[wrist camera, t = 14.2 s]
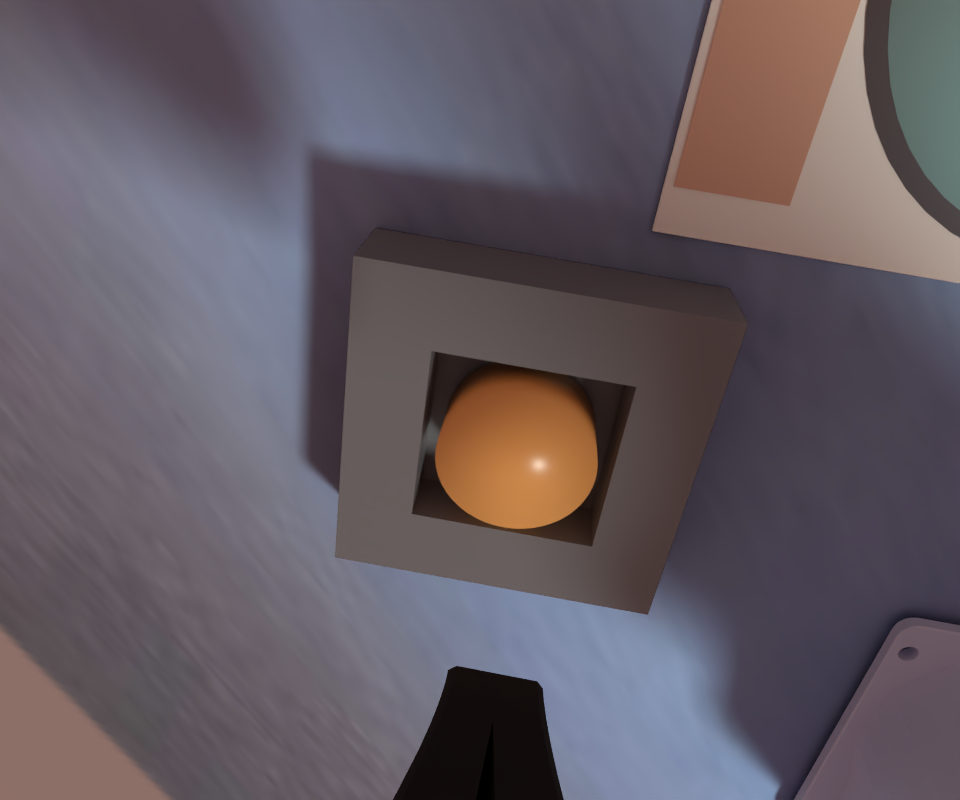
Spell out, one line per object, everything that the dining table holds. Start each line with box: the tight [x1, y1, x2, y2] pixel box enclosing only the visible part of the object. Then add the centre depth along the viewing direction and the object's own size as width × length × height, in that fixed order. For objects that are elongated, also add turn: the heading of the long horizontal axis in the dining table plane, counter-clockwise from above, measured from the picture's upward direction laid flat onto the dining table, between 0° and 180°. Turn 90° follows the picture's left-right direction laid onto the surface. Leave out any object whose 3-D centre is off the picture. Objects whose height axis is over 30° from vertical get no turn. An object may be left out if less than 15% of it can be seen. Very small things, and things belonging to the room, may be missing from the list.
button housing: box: [335, 228, 748, 615], centre depth 18 cm, size 8×8×2 cm
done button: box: [435, 363, 598, 529], centre depth 17 cm, size 4×4×2 cm
